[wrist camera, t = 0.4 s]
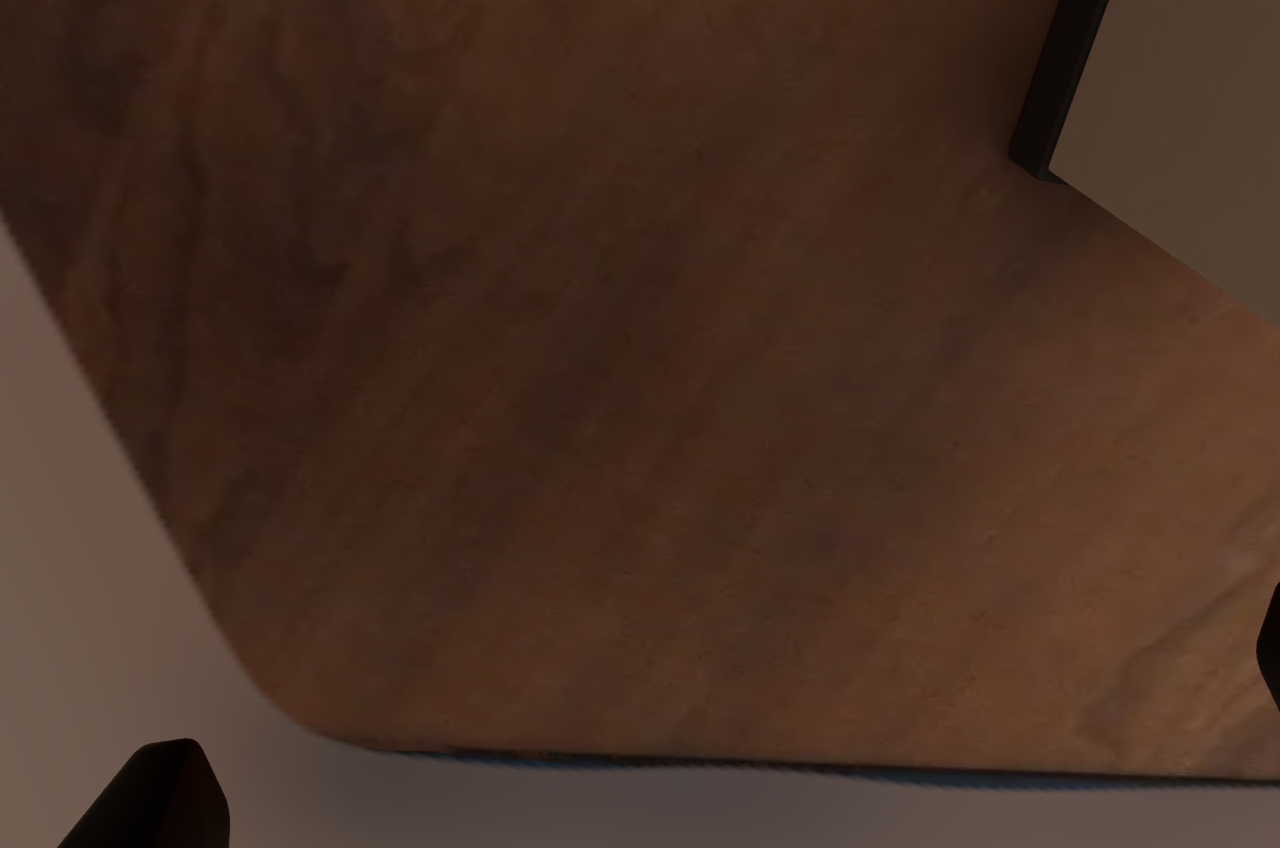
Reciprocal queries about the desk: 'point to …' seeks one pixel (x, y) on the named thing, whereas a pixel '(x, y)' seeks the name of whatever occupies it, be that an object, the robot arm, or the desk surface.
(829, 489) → the desk surface
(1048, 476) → the desk surface
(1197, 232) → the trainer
